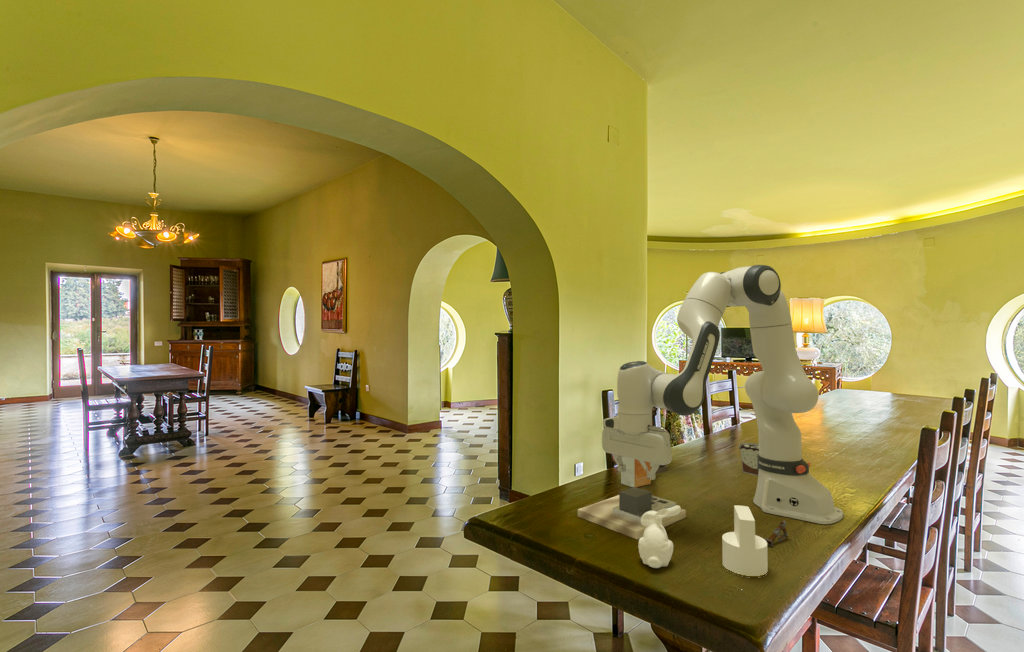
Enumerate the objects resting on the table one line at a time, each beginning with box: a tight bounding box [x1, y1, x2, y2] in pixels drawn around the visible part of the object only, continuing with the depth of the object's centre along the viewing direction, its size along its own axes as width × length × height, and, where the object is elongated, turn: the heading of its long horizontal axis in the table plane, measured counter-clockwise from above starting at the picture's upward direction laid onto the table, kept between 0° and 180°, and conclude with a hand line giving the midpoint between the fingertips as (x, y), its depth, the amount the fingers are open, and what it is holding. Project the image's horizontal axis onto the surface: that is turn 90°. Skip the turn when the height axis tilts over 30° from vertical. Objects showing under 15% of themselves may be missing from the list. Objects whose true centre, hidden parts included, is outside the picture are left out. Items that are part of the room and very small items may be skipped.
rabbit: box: [637, 504, 682, 569], centre depth 113 cm, size 12×9×12 cm
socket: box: [613, 495, 677, 527], centre depth 136 cm, size 9×16×2 cm, turn 130°
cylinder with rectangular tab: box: [721, 505, 769, 576], centre depth 110 cm, size 9×9×12 cm
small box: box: [620, 456, 652, 488], centre depth 168 cm, size 8×6×13 cm
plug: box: [618, 487, 653, 515], centre depth 134 cm, size 6×9×6 cm, turn 130°
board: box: [577, 494, 687, 540], centre depth 139 cm, size 20×22×2 cm
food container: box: [738, 442, 759, 477], centre depth 178 cm, size 12×6×10 cm, turn 34°
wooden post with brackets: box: [763, 520, 789, 548], centre depth 122 cm, size 2×8×5 cm, turn 122°
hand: (636, 475), depth 133 cm, fingers open, 8 cm apart
